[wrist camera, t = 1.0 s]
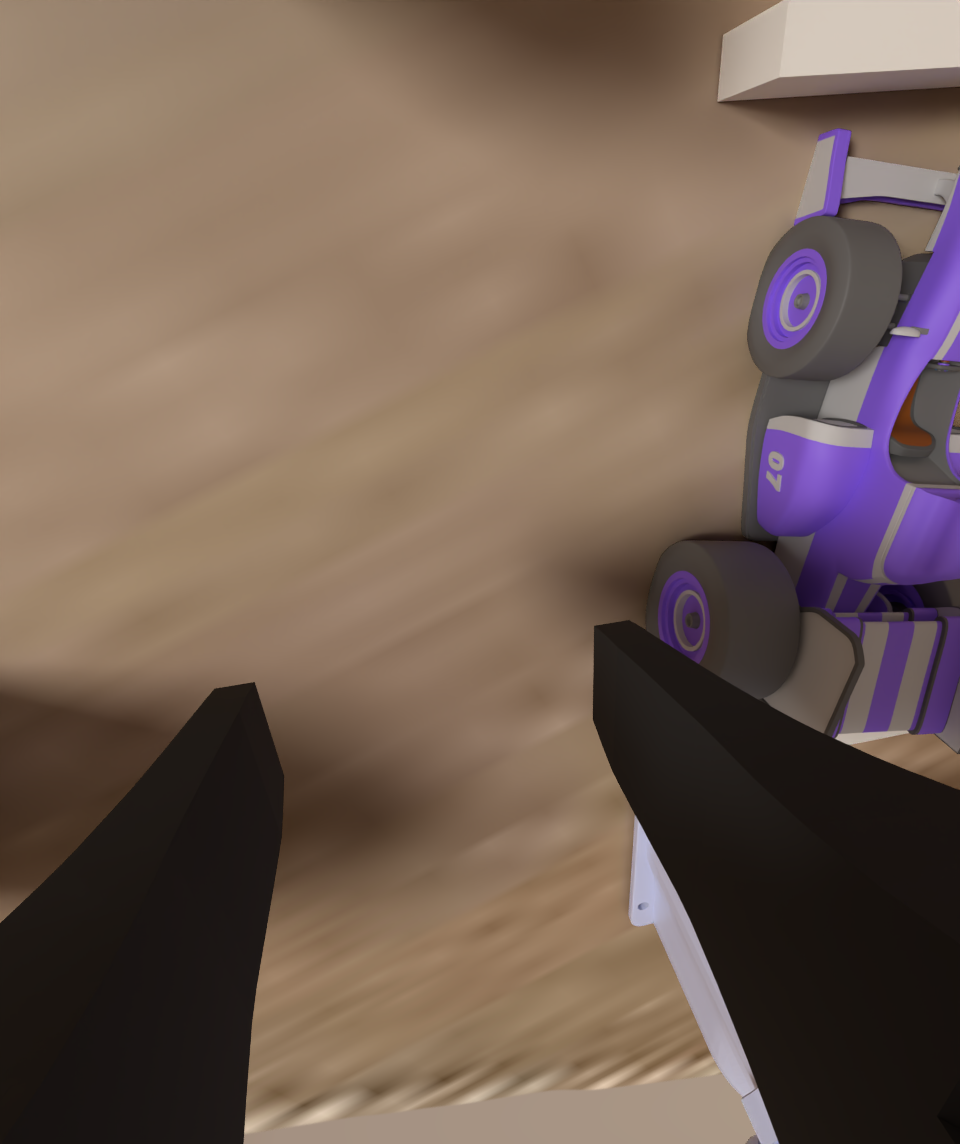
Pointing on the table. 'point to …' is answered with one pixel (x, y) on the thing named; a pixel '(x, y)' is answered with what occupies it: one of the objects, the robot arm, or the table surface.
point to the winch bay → (842, 65)
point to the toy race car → (842, 473)
